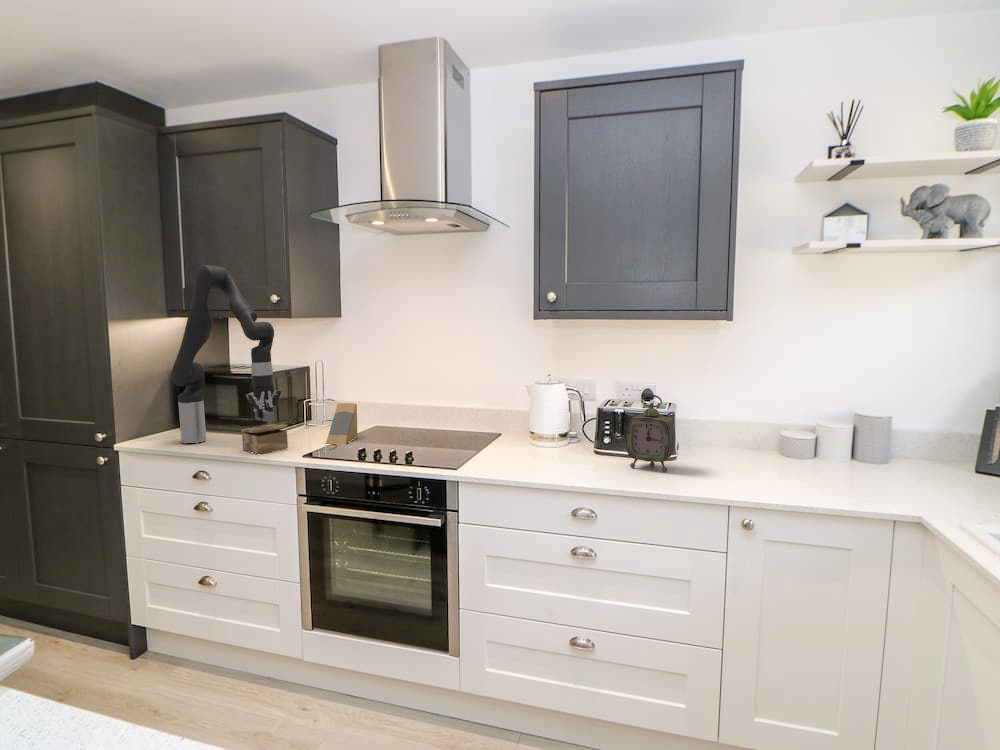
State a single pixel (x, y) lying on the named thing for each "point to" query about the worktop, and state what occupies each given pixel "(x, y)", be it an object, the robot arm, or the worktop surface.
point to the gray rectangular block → (266, 416)
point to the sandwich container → (343, 424)
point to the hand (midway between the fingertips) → (265, 417)
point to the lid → (263, 428)
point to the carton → (265, 441)
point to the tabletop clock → (650, 436)
